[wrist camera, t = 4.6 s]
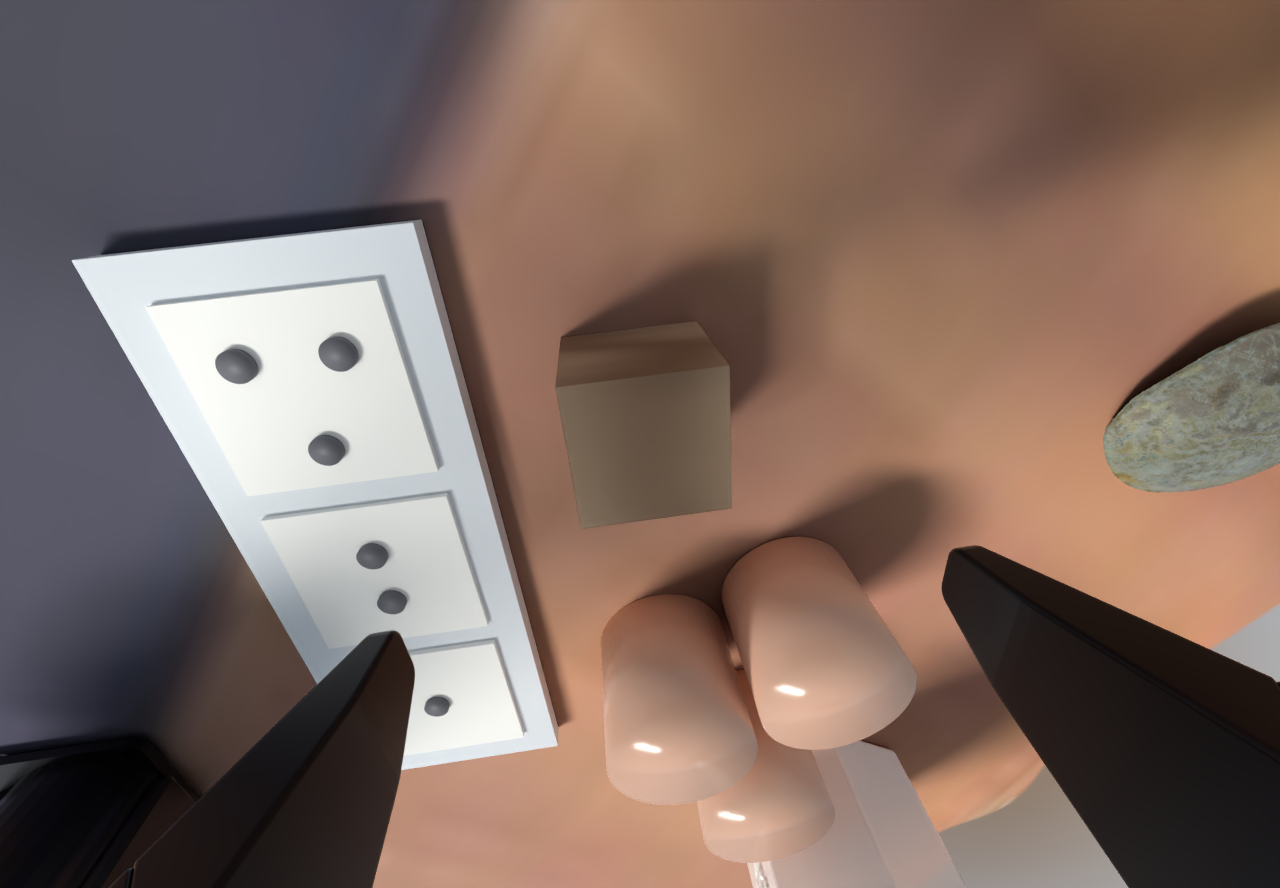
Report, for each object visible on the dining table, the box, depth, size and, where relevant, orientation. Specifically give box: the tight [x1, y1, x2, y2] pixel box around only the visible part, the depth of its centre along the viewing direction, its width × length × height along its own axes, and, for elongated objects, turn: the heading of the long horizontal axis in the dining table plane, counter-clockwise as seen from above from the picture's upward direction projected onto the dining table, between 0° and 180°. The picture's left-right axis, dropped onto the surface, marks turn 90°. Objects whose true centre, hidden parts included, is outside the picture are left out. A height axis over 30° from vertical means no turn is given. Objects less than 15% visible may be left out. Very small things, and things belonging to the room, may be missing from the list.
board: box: [72, 219, 558, 770], centre depth 18 cm, size 8×21×1 cm, turn 5°
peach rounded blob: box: [722, 537, 917, 750], centre depth 19 cm, size 5×5×5 cm
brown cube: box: [556, 321, 732, 529], centre depth 15 cm, size 4×4×4 cm
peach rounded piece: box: [697, 670, 835, 863], centre depth 22 cm, size 5×5×5 cm
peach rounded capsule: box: [601, 594, 758, 805], centre depth 20 cm, size 5×5×5 cm
